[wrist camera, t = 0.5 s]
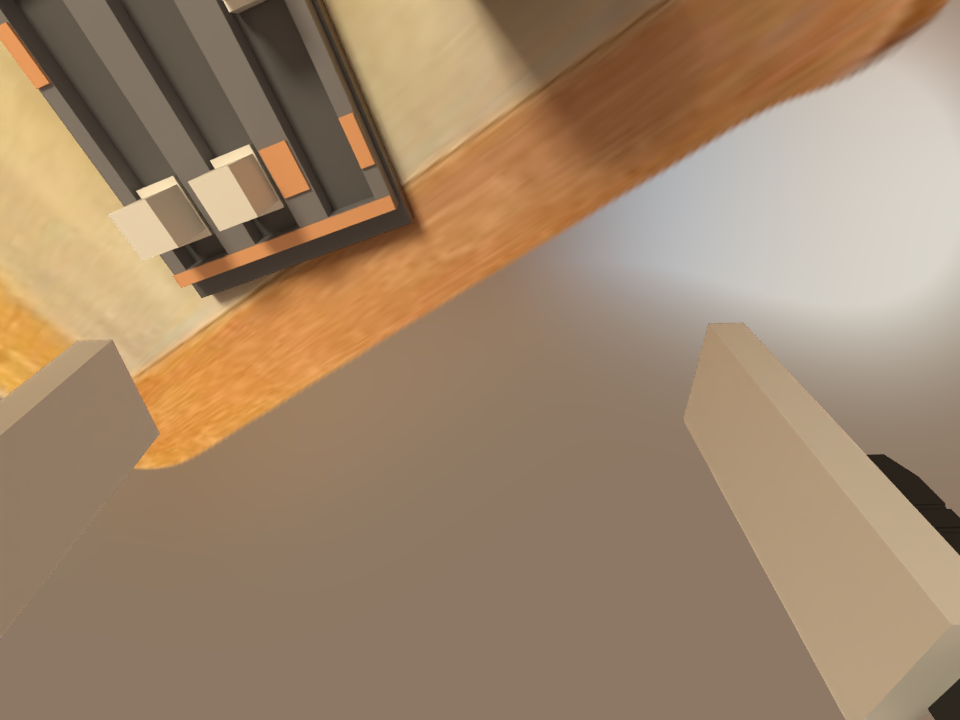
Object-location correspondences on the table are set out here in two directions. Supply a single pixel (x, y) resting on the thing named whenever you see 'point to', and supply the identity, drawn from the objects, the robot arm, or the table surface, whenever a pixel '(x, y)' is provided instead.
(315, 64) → the slotted block puzzle
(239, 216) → the tab mid
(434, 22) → the table surface
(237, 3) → the tab front
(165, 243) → the tab back
